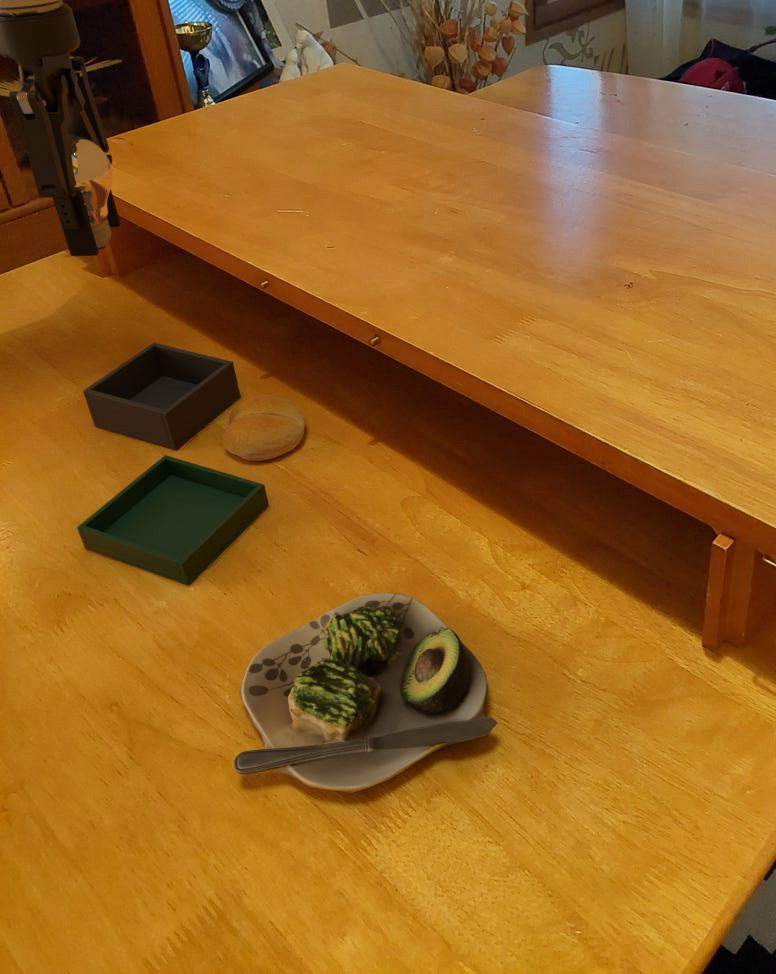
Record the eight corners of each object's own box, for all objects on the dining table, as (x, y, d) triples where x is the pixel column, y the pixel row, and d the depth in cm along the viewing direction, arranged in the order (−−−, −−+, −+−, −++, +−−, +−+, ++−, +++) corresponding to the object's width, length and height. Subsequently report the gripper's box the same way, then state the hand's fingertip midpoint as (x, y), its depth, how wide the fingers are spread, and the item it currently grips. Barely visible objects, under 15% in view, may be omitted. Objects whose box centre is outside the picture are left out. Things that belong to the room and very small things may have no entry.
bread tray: (84, 548, 85) (76, 527, 83) (171, 475, 93) (165, 454, 92) (188, 585, 81) (181, 563, 79) (269, 505, 89) (264, 484, 88)
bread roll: (217, 465, 95) (209, 433, 92) (238, 415, 102) (231, 384, 99) (297, 464, 94) (291, 432, 92) (313, 415, 101) (307, 384, 99)
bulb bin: (94, 426, 101) (82, 390, 98) (163, 376, 109) (153, 342, 106) (175, 450, 97) (165, 413, 94) (241, 396, 105) (233, 361, 102)
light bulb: (113, 230, 105) (82, 121, 98) (144, 247, 101) (114, 135, 94) (54, 249, 101) (18, 137, 94) (84, 267, 97) (48, 153, 90)
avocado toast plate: (289, 871, 60) (278, 831, 57) (187, 693, 71) (173, 653, 68) (528, 725, 68) (528, 684, 65) (402, 587, 80) (397, 548, 77)
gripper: (26, 29, 79) (101, 279, 93) (101, -16, 94) (155, 204, 108) (-61, 32, 79) (27, 281, 93) (28, -14, 94) (92, 205, 108)
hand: (96, 239), depth 101 cm, fingers closed on light bulb, 7 cm apart
